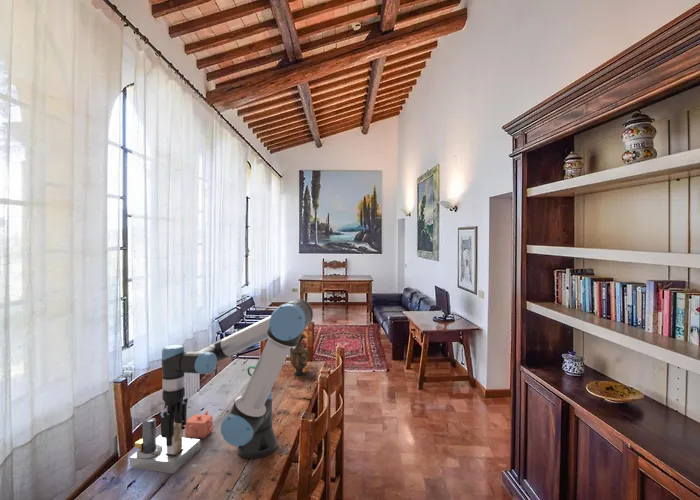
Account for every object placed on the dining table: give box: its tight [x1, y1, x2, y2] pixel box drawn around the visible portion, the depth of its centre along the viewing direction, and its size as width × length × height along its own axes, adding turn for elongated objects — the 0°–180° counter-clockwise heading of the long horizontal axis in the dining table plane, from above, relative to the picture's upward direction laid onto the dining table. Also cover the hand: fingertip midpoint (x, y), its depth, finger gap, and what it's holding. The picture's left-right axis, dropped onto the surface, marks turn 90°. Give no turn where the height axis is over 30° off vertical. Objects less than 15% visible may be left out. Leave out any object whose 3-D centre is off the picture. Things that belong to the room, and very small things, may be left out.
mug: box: [246, 363, 257, 377], centre depth 220 cm, size 15×10×10 cm
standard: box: [134, 417, 162, 459], centre depth 139 cm, size 9×8×12 cm
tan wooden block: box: [173, 422, 183, 455], centre depth 139 cm, size 4×4×10 cm
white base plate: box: [129, 434, 201, 474], centre depth 142 cm, size 18×16×4 cm
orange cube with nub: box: [184, 410, 214, 440], centre depth 159 cm, size 12×15×8 cm
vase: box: [289, 333, 310, 377], centre depth 233 cm, size 12×12×30 cm
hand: (174, 450), depth 139 cm, fingers closed on tan wooden block, 3 cm apart
